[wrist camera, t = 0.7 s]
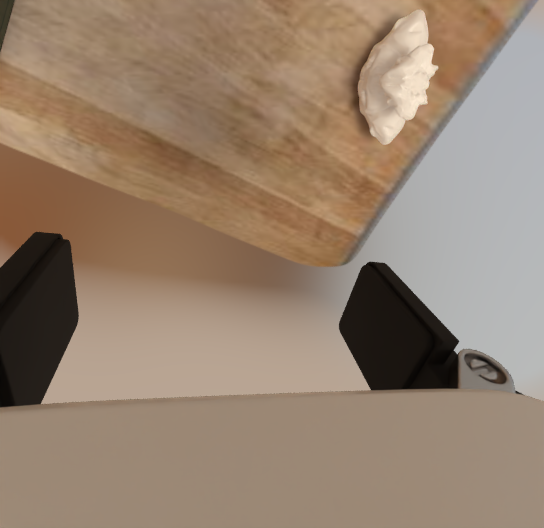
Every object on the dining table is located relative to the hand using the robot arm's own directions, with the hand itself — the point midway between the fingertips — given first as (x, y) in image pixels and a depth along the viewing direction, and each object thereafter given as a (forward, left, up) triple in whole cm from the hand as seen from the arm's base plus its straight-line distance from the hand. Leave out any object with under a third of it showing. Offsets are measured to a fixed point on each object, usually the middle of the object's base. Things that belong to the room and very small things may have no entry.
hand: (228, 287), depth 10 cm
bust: (-8, +18, -30) cm, 36 cm away
